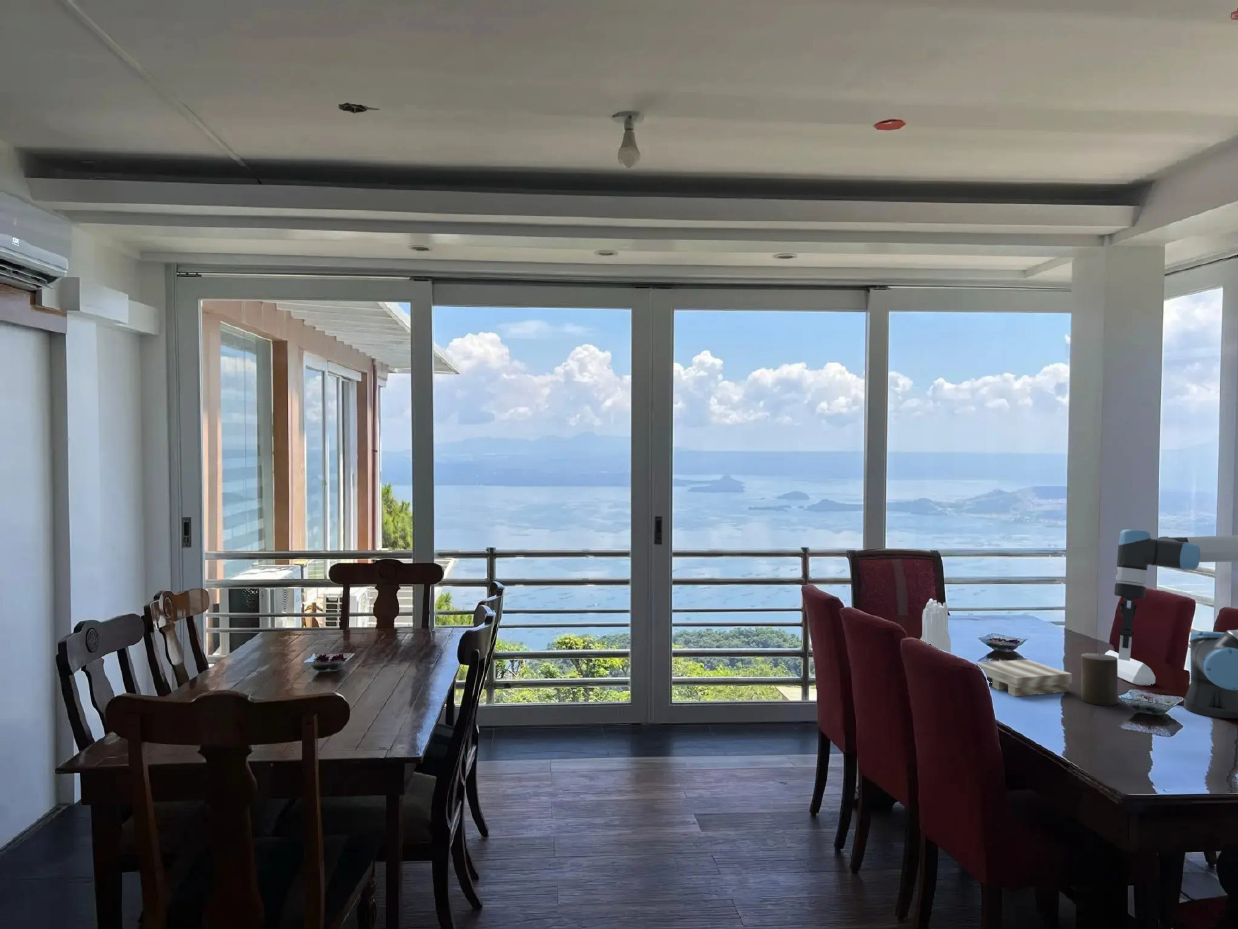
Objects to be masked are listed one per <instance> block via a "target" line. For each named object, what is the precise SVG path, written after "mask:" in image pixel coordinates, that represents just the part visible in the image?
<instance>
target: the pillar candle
mask: <svg viewBox="0 0 1238 929" xmlns="http://www.w3.org/2000/svg"><path fill="white" fill-rule="evenodd" d="M1080 655H1081V660H1080V661H1081V662H1080V663H1081V665H1080V666H1081V667H1080V668H1081V669H1080V670H1081V673H1080V698H1081V700H1082V701H1083V702H1084V703H1088V704H1092V705H1100V706H1105V705H1110V706H1116V704H1117V703H1119V702H1118V701H1119V700H1118V699H1119V696H1118V694H1119V693H1118V685H1119V684H1118V683H1119V682H1118V678H1119V677H1118V663H1117V658H1116V657H1114V656H1111V655H1105V653H1100V652H1097V653H1090V652H1086V653H1082V654H1080ZM1117 705H1118V704H1117Z"/></svg>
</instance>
